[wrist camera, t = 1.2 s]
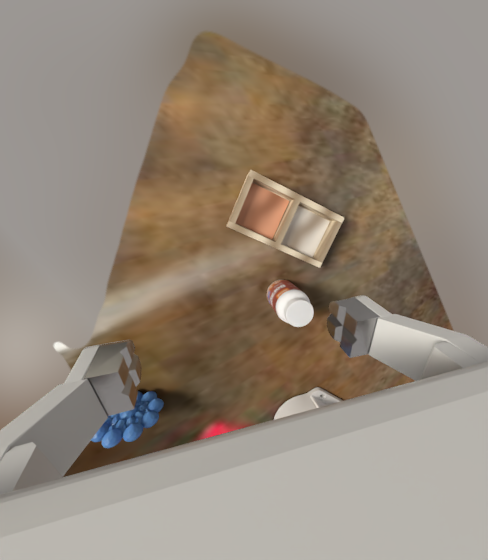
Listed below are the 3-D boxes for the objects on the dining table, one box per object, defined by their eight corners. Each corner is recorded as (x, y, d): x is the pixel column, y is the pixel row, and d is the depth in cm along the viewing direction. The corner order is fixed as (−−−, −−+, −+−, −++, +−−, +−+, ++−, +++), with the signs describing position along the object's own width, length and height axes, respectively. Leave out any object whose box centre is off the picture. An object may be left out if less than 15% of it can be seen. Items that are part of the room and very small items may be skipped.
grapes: (111, 412, 49) (80, 470, 37) (107, 384, 47) (74, 436, 36) (167, 408, 51) (154, 462, 39) (166, 381, 49) (152, 430, 37)
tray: (334, 218, 45) (344, 217, 42) (312, 264, 47) (319, 267, 44) (247, 173, 41) (250, 169, 38) (226, 226, 43) (227, 226, 40)
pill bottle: (274, 273, 47) (293, 289, 36) (300, 286, 48) (325, 304, 37) (260, 300, 48) (274, 323, 37) (285, 311, 49) (306, 336, 38)
